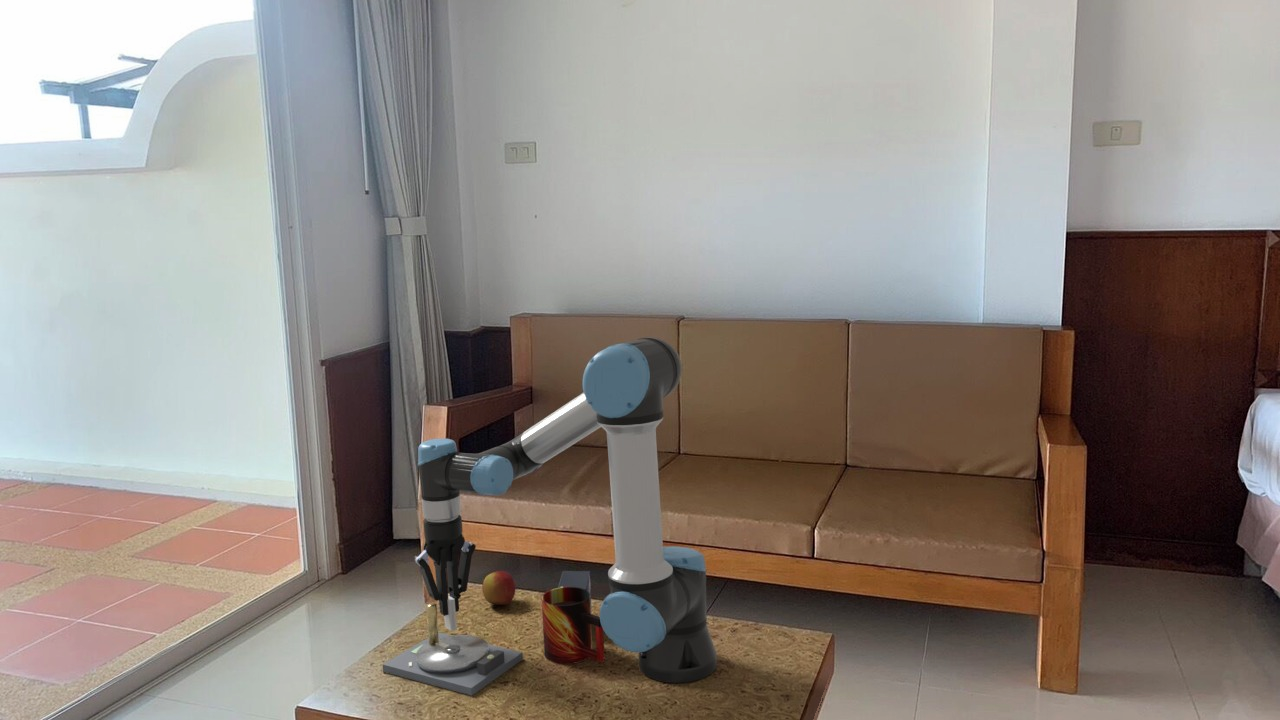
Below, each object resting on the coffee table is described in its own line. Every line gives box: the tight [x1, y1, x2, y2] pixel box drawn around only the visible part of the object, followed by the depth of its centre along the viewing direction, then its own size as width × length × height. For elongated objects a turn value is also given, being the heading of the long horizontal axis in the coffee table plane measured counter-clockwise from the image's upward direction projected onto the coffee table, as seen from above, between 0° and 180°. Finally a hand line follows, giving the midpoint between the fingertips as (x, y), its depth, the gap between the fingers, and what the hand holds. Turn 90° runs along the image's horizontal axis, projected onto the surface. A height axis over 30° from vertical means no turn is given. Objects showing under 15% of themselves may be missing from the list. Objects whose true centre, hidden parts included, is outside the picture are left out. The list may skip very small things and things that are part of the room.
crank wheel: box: [416, 602, 489, 673], centre depth 182 cm, size 14×14×9 cm
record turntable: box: [382, 631, 524, 697], centre depth 183 cm, size 22×16×4 cm
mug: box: [541, 587, 605, 665], centre depth 185 cm, size 10×14×12 cm
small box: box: [557, 570, 592, 612], centre depth 199 cm, size 11×6×10 cm, turn 179°
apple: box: [481, 570, 516, 606], centre depth 211 cm, size 8×8×8 cm
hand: (450, 628), depth 188 cm, fingers closed
